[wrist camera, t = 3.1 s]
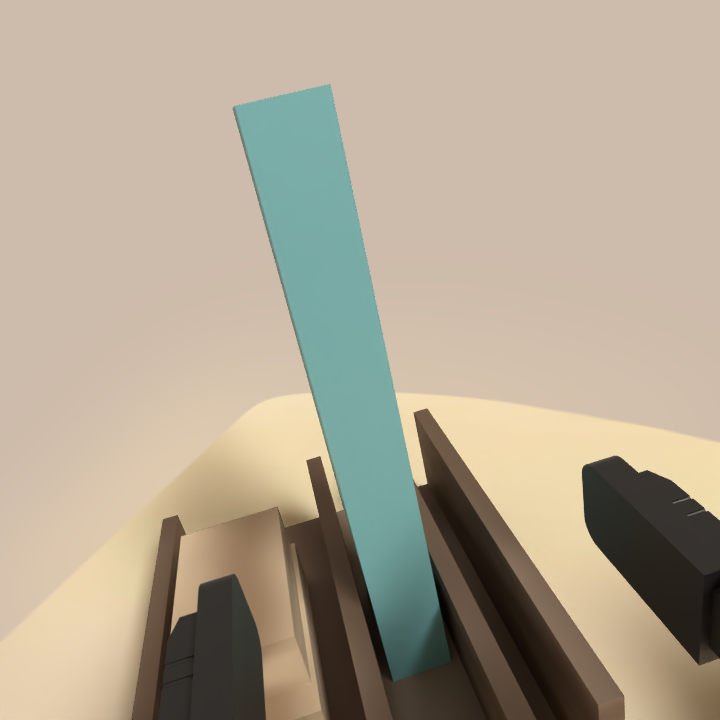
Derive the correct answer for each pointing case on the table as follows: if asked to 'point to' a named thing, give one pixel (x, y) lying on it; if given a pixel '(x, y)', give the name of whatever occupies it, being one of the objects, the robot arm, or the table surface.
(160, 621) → the wooden rack
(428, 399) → the table surface
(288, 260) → the teal board
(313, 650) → the lower oak offcut
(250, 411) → the table surface
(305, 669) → the upper oak offcut
